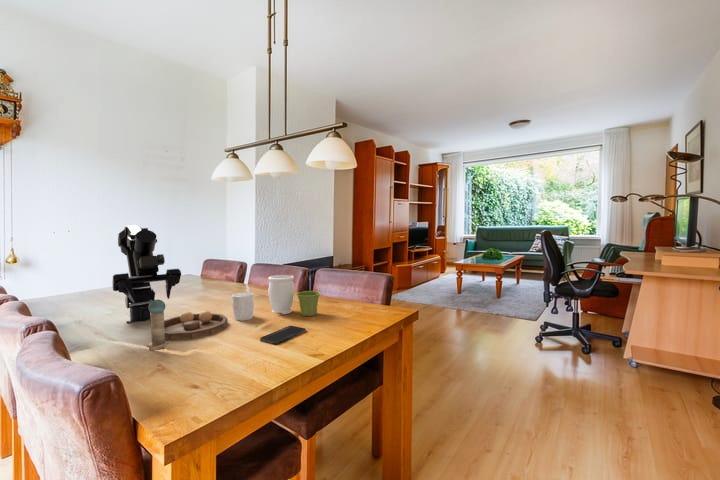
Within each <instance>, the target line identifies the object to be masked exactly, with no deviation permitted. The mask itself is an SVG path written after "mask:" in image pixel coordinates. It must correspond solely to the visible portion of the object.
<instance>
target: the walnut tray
mask: <svg viewBox="0 0 720 480" xmlns="http://www.w3.org/2000/svg"><path fill="white" fill-rule="evenodd" d="M200 313H201V312H200ZM200 313H192V314H193V316H194V318H193V321H189V322H185V323H184V324H183V323H182V322H181V321H180V316H181V315H179V316H173V317H170V318H166V319H164V330H165V340H166V341H169V340H170V341H174V340H175V341H176V340H191V339H196V338H202V337H206V336H210V335H213V334H216V333H218V332H220V331H222V330H224V329H226V327H227V325H228V323H229V322H228V319H229V318H228V317H227V316H225V315H224V314H223V313H222V314H220V313H214V312H213V313H212V312H211V314H212V319H211V320H210V321H209V322H207V323H202V322H201V321H200V320H199V315H200Z"/></svg>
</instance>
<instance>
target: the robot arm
mask: <svg viewBox="0 0 720 480" xmlns="http://www.w3.org/2000/svg"><path fill="white" fill-rule="evenodd" d="M156 243H158V239H157V234H156V233H155V232H154V231H153V230H149V228H148V227H141V226H140V225H125V226H124V229H122V231H120V232H119V233H118V237H117V245H118V247H119V248H120V252H121V253H122V254H123V255H125V256H126V260H127V265H128V272H125V273H115V274H113V276H112V290H113V292H118V293H123V294H124V295H125V297H124V298H125V302H124V303H125V307H126V308H127V309H129V316H130V317H129V318H130V319H129V320H127V321H126V323H127V324H134V323H137V322H147V321H149V320H150V321H151V313H150V311H149V309H148V306H149V304H150V303H151V302H152V301H154V300H156V299H155V298H156V292H155V291H154V288H152V286H151V283H154V282H162V281H164V282H165V292H166V298H167V300H169V299H170V297H171V290H172V288H173V287H175V286H176V285H178V284H179V283H180V280H181V276H182V271H181V269H180V268H170V269H169V268H168V269H166V271H165V273H162V274H158V273H159V272H160V271H159V266H162V265H165V255H164V254H161V253H160V254H159V253H158V254H156V255H154V253H153V252H154V251H155V247H156Z"/></svg>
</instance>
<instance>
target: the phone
mask: <svg viewBox="0 0 720 480" xmlns="http://www.w3.org/2000/svg"><path fill="white" fill-rule="evenodd" d="M306 332H307V329H306V328H305V327H300V326H294V325H288V326H285V327H283V328H281V329H278V330H276V331H273V332H271V333H268V334H266V335H264V336H262V337H259V341H260V342H262V343H267V344H270V345H275V346H277V345H280V344H283V343H284V342H285V343H286V341H290V340H291V339H293V338H296V337H297V336H298V337H299V336H300V335H302V334H304V333H306Z"/></svg>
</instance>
